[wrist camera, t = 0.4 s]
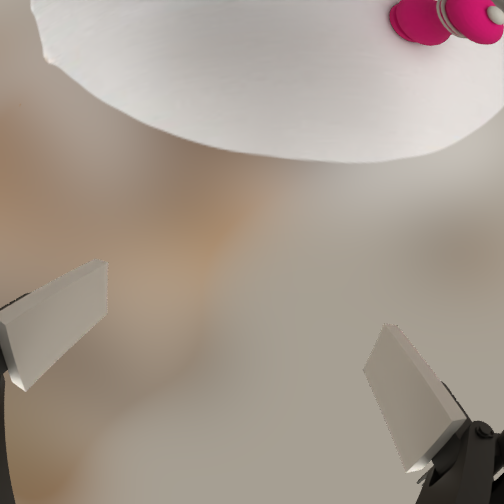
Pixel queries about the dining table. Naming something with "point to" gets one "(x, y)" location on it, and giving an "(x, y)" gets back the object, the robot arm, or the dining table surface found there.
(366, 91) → the dining table surface
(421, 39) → the pepper mill
